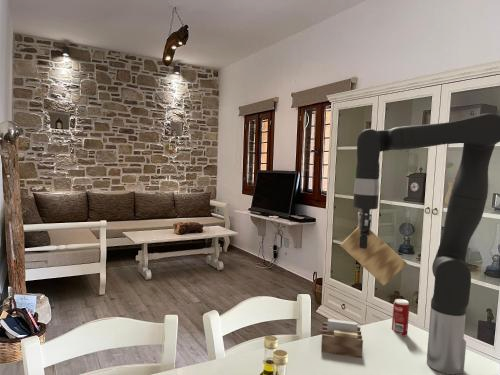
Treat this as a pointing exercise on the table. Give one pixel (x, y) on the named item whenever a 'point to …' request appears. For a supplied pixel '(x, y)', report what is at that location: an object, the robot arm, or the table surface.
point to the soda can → (400, 316)
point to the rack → (341, 343)
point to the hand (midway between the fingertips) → (362, 247)
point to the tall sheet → (374, 256)
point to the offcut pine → (345, 334)
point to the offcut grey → (341, 325)
